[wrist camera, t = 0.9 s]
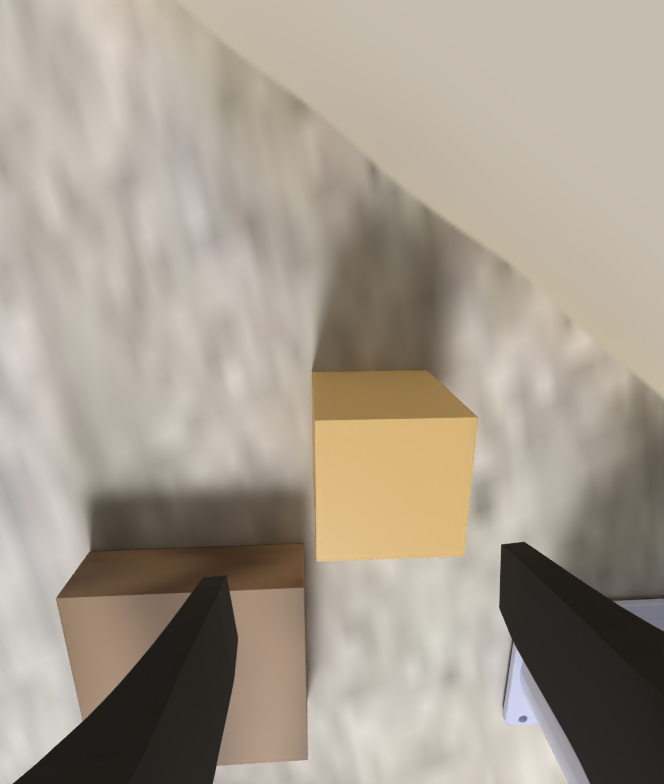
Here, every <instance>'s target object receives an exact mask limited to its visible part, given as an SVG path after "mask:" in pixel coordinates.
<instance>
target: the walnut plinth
mask: <svg viewBox="0 0 664 784" xmlns="http://www.w3.org/2000/svg"><path fill="white" fill-rule="evenodd" d="M222 575H227V580H228V585H229V590H230V596H231V601H232V607H233V612H234V617H235V623H236V628H237V634H238V647H237V659H236V668H235V678H234V684H233V689H232V694H231V699H230V704H229V708H228V713H227V718H226V723H225V728H224V732H223V737H222V742H221V746H220V751H219V756H218V761H217V765H216V766H220V765H235V764H251V763H267V762H282V761H298V760H308V745H307V669H306V623H305V577H304V544H280V545H253V546H226V547H199V548H172V549H145V550H117V551H90V552H89V553H88V555H87V556H86V558H85V559H84V560H83V562H82V563H81V564H80V566H79V567H78V569H77V570H76V571H75V573H74V574H73V575H72V577H71V578H70V580H69V581H68V582H67V584H66V585H65V587H64V588H63V589H62V591H61V592H60V593H59V595H58V596H57V598H56V601H57V606H58V610H59V615H60V619H61V624H62V628H63V633H64V638H65V642H66V647H67V651H68V656H69V660H70V665H71V670H72V674H73V679H74V683H75V688H76V692H77V697H78V702H79V706H80V711H81V715H82V720H83V721H84V720H85V719H86V718H87V717H88V716H89V715H90V714H91V713H92V712H93V711H94V710H95V709H96V708H97V707H98V705H99V704H100V703H101V702H102V701H103V700H104V699H105V698H106V697H107V696H108V695H109V694H110V693H111V692H112V691H113V690H114V689H115V687H116V686H117V685H118V684H119V683H120V682H121V681H122V680H123V679H124V677H125V676H126V675H127V674H128V673H129V672H130V670H131V669H132V668H133V667H134V666H135V665H136V663H137V662H138V661H139V660H140V659H141V657H142V656H143V655H144V654H145V653H146V652H147V650H148V649H149V648H150V647H151V645H152V644H153V643H154V642H155V640H156V639H157V638H158V637H159V635H160V634H161V633H162V631H163V630H164V629H165V628H166V626H167V625H168V624H169V622H170V621H171V620H172V618H173V617H174V616H175V614H176V613H177V612H178V610H179V609H180V608H181V606H182V605H183V604H184V602H185V601H186V599H187V598H188V597H189V595H190V594H191V593H192V591H193V590H194V588H195V587H196V586H197V584H198V583H199V582H200V581H201V579H202V578H204V577H213V576H222Z"/></svg>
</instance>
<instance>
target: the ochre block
mask: <svg viewBox="0 0 664 784" xmlns="http://www.w3.org/2000/svg"><path fill="white" fill-rule="evenodd" d="M477 421H478V417H477V416H476V415H475V414H474V413H473V412H472V411H471V410H470V409H468V408H467V407H466V406H465V405H464V404H463V403H462V402H461V401H460V400H459V399H458V398H457V397H456V396H454V395H453V394H452V393H451V392H450V391H449V390H448V389H447V388H446V387H445V386H444V385H443V384H442V383H440V382H439V381H438V380H437V379H436V378H435V377H434V376H433V375H432V374H431V373H430V372H429V371H428V370H402V371H335V372H312V424H313V484H314V509H315V535H316V560H317V562H320V561H346V560H372V559H398V558H424V557H450V556H464V551H465V541H466V531H467V521H468V511H469V501H470V491H471V481H472V471H473V461H474V451H475V441H476V431H477Z"/></svg>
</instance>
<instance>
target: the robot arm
mask: <svg viewBox="0 0 664 784" xmlns="http://www.w3.org/2000/svg"><path fill="white" fill-rule="evenodd" d="M499 608H500V611H501V613H502V616H503V618H504V621H505V623H506V625H507V628H508V630H509V633H510V635H511V637H512V639H513V648H512V655H511V662H510V669H509V675H508V682H507V689H506V696H505V702H504V709H503V717H504V720H505V722H506V723H507V724H508V725H513V726H514V725H530V724H539V725H540V727H541V729H542V731H543V733H544V735H545V737H546V739H547V741H548V743H549V745H550V747H551V749H552V751H553V753H554V755H555V757H556V759H557V761H558V763H559V765H560V767H561V769H562V771H563V773H564V775H565V777H566V779H567V781H568V783H569V784H664V599H645V600H623V601H612V600H610V599H608V598H607V597H605V596H604V595H602V594H601V593H599V592H598V591H596V590H594V589H593V588H591V587H590V586H588V585H587V584H585V583H584V582H582V581H581V580H579V579H578V578H576V577H575V576H574V575H572V574H571V573H569V572H568V571H566V570H565V569H563V568H562V567H560V566H559V565H557V564H556V563H555V562H553V561H552V560H550V559H549V558H547V557H546V556H544V555H543V554H542V553H540V552H539V551H537V550H536V549H534V548H533V547H531V546H530V545H528V544H527V543H525V542H519V543H510V544H501V570H500V602H499ZM237 647H238V634H237V628H236V623H235V617H234V612H233V607H232V601H231V596H230V590H229V585H228V580H227V575H222V576H213V577H204V578H202V579H201V581H200V582H199V583H198V584H197V586H196V587H195V588H194V590H193V591H192V593H191V594H190V595H189V597H188V598H187V599H186V601H185V602H184V604H183V605H182V606H181V608H180V609H179V610H178V612H177V613H176V614H175V616H174V617H173V618H172V620H171V621H170V622H169V624H168V625H167V626H166V628H165V629H164V630H163V631H162V633H161V634H160V635H159V637H158V638H157V639H156V640H155V642H154V643H153V644H152V645H151V647H150V648H149V649H148V650H147V652H146V653H145V654H144V655H143V656H142V657H141V659H140V660H139V661H138V662H137V663H136V665H135V666H134V667H133V668H132V669H131V670H130V672H129V673H128V674H127V675H126V676H125V677H124V679H123V680H122V681H121V682H120V683H119V684H118V685H117V686H116V687H115V689H114V690H113V691H112V692H111V693H110V694H109V695H108V696H107V697H106V698H105V699H104V700H103V701H102V702H101V703H100V704H99V705H98V707H97V708H96V709H95V710H94V711H93V712H92V713H91V714H90V715H89V716H88V717H87V718H86V719H85V720H84V721H83V722H82V723H81V724H79V725H78V726H77V727H76V728H75V729H74V730H73V731H72V732H71V733H70V734H69V735H67V736H66V737H65V738H64V739H63V740H62V741H61V742H60V743H59V744H58V745H57V746H55V747H54V748H53V749H52V750H51V751H50V752H49V753H48V754H47V755H46V756H44V757H43V758H42V759H41V760H40V761H39V762H38V763H37V764H36V765H34V766H33V767H32V768H31V769H30V770H29V771H27V772H26V773H25V774H24V775H23V776H21V777H20V778H19V779H18V780H17V781H15V782H14V783H13V784H213V780H214V775H215V770H216V765H217V761H218V756H219V751H220V746H221V742H222V737H223V732H224V728H225V723H226V718H227V713H228V708H229V704H230V699H231V694H232V689H233V684H234V678H235V668H236V659H237Z"/></svg>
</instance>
